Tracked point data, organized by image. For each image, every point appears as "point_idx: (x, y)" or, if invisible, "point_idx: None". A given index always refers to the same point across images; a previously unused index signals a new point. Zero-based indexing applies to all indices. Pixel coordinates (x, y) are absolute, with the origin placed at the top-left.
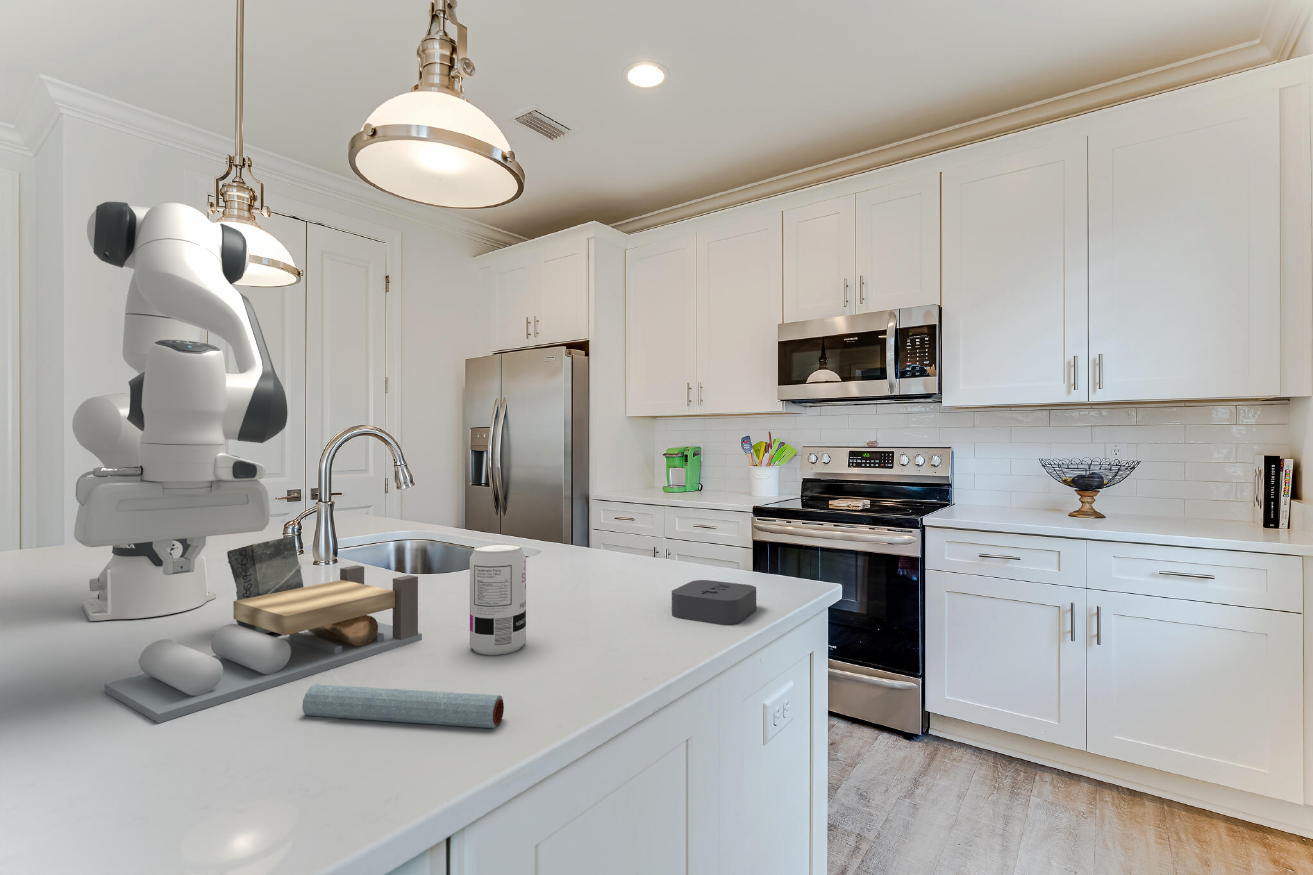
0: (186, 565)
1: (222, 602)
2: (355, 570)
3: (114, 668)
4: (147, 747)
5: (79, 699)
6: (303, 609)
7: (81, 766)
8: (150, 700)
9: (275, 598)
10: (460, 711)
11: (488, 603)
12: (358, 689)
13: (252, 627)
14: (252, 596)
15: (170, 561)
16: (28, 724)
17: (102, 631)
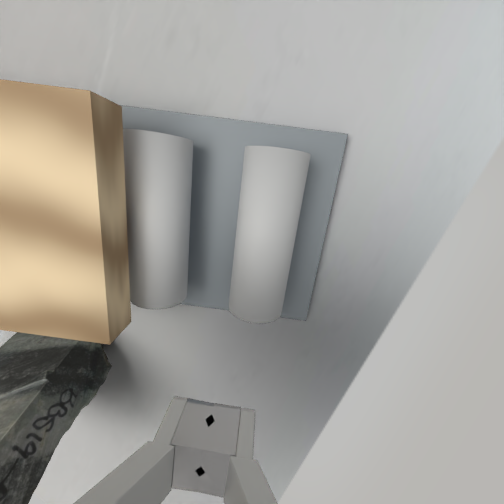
0: (193, 420)
1: (67, 498)
2: None
3: (255, 381)
4: (402, 55)
5: (329, 315)
6: (30, 114)
7: (467, 77)
8: (319, 203)
9: (40, 287)
10: None
11: None
12: None
13: (97, 351)
14: (55, 397)
15: (245, 458)
16: (395, 286)
17: (198, 500)
